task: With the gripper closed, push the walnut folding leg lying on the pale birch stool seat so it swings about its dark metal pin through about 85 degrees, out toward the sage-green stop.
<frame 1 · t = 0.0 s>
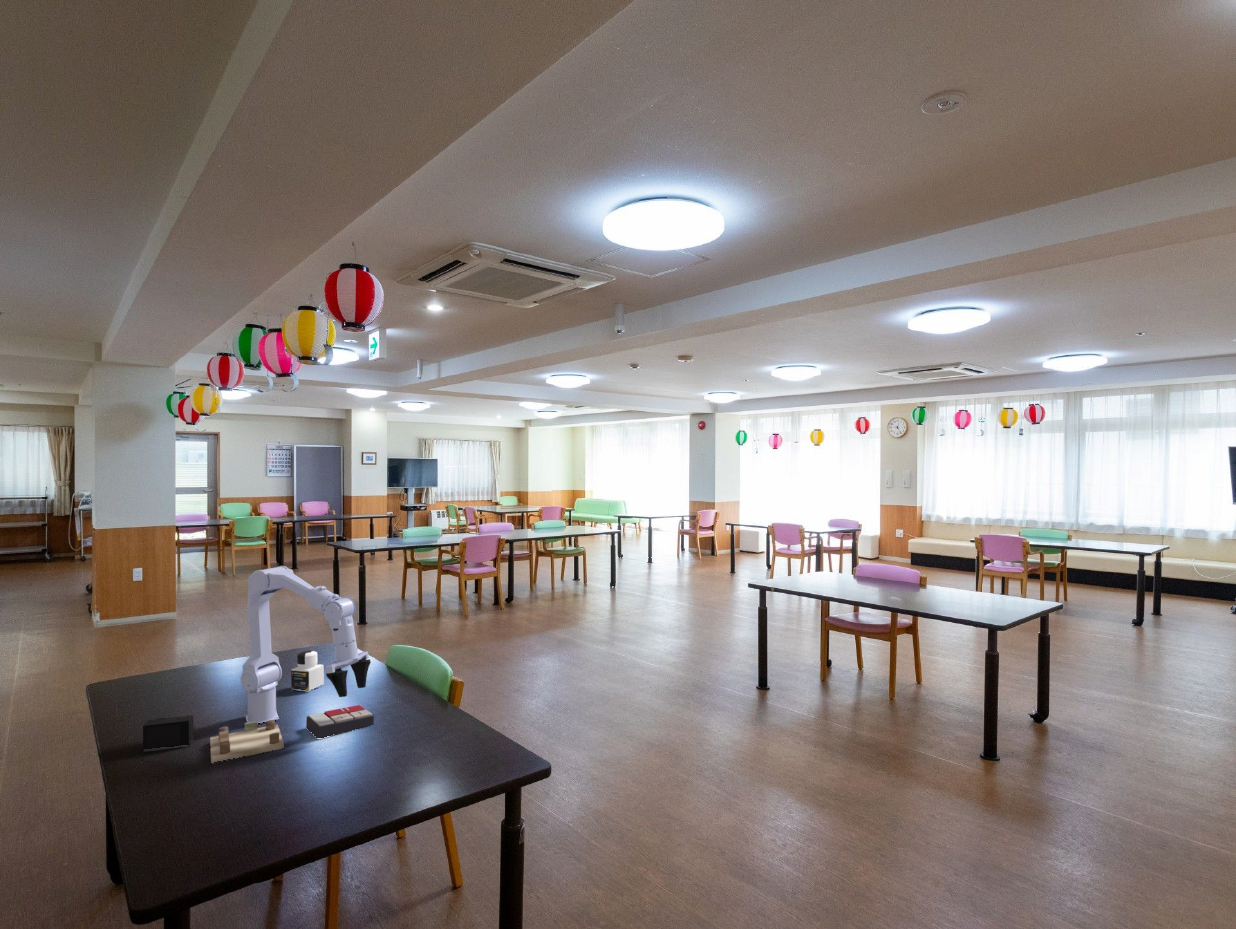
hand: (352, 692, 184), 11 cm above the table, tool pointing down, fingers open, 7 cm apart
stool seat: (246, 745, 175), on the table
digital camera: (169, 746, 176), on the table
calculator: (340, 728, 187), on the table
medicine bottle: (307, 689, 222), on the table
folding leg: (224, 737, 174), point 3 cm above the table, hinge at 0.0°
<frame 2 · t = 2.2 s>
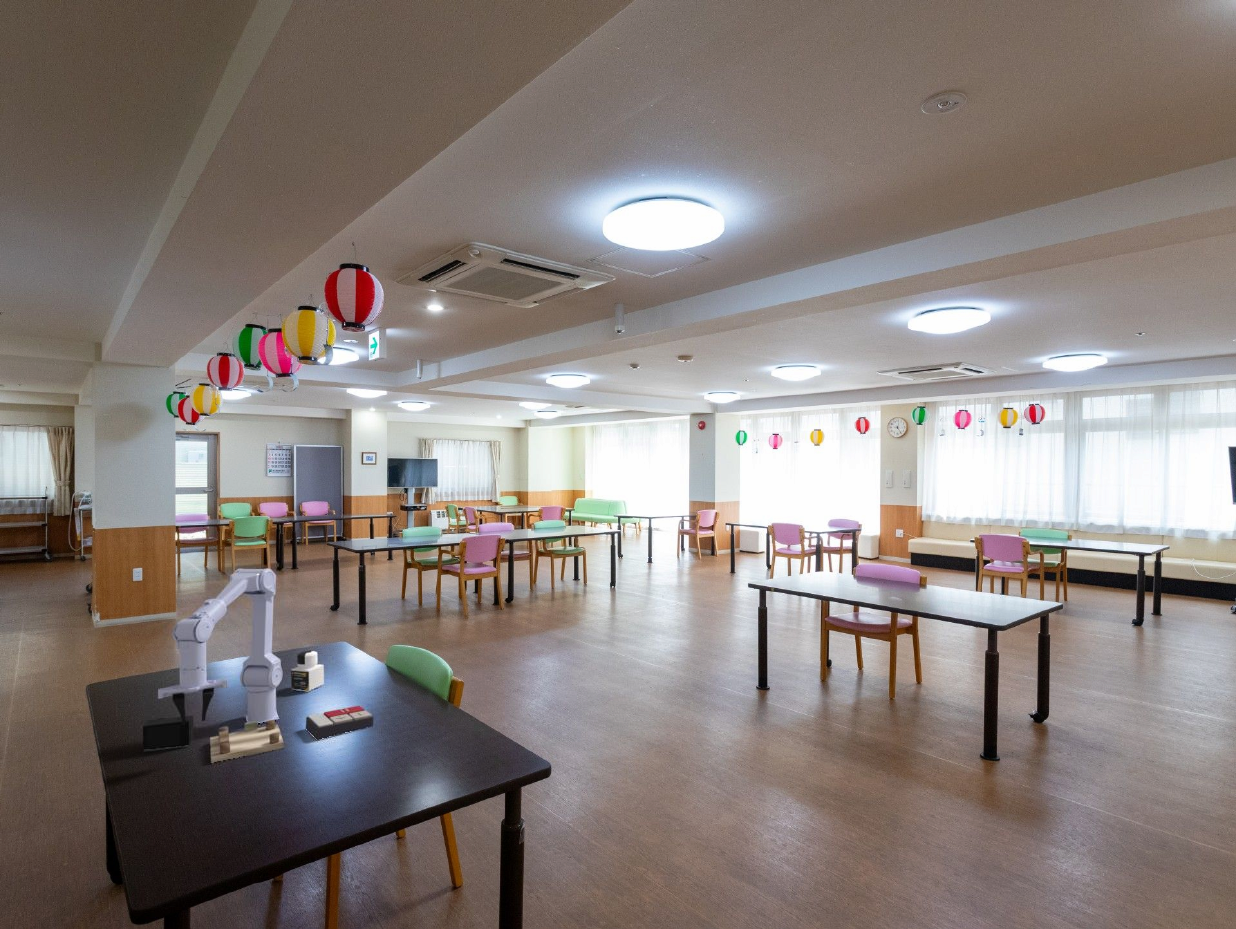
hand: (193, 721, 168), 9 cm above the table, tool pointing down, fingers open, 3 cm apart
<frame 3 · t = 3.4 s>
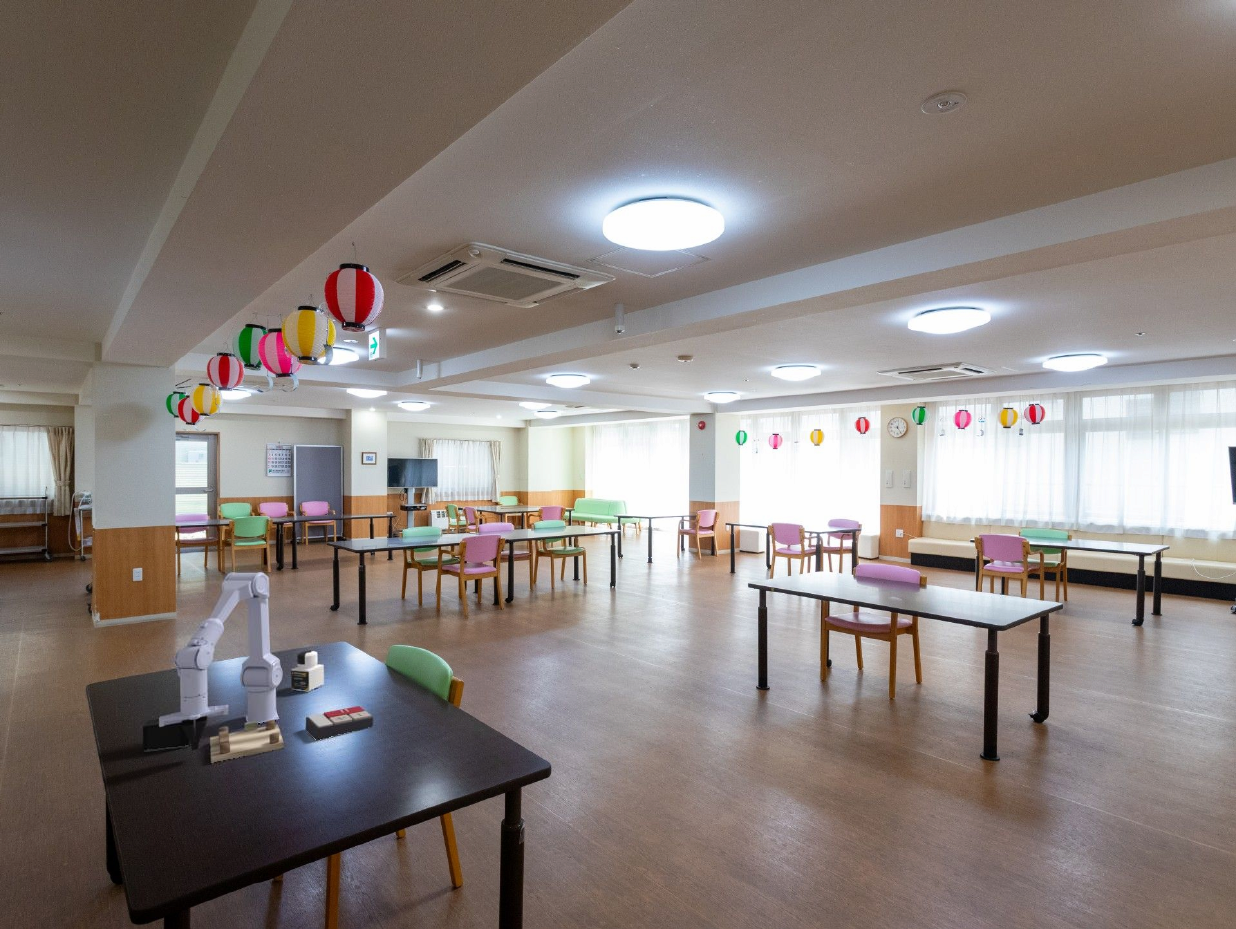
hand: (194, 748, 168), 3 cm above the table, tool pointing down, fingers closed
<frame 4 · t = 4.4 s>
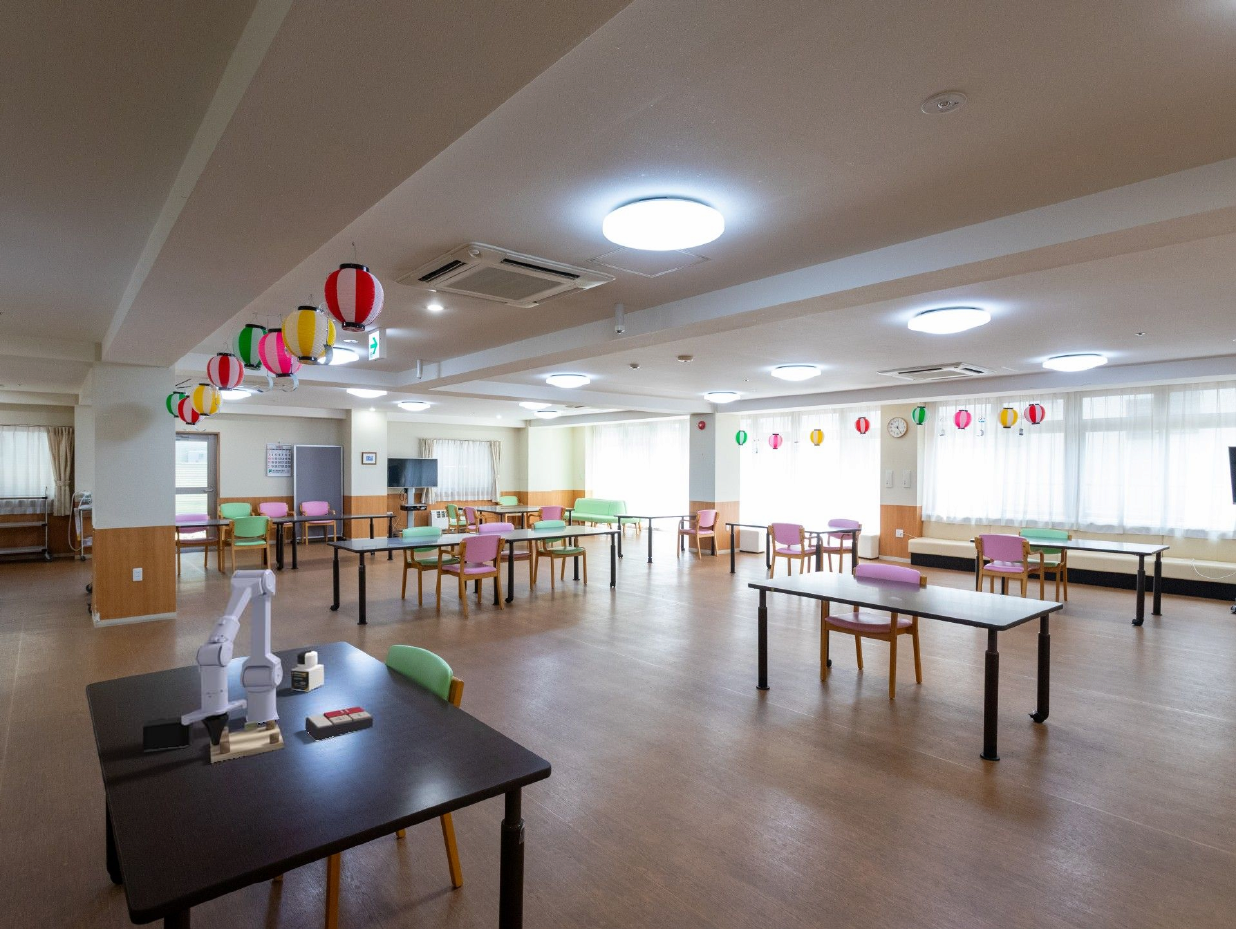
hand: (215, 744, 170), 3 cm above the table, tool pointing down, fingers closed, pressing on folding leg
folding leg: (224, 737, 174), point 3 cm above the table, hinge at 0.2°, touching gripper
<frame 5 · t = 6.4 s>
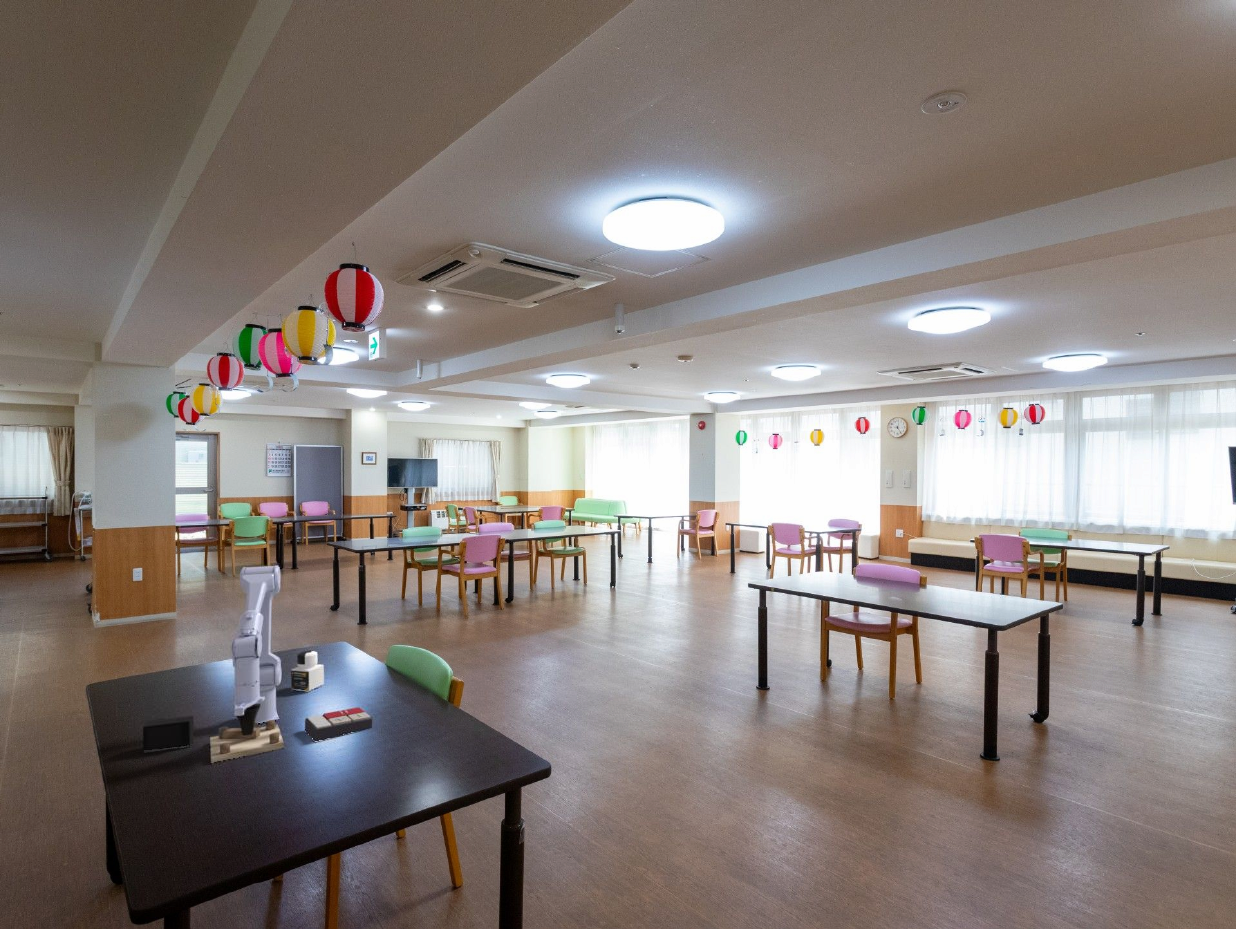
hand: (247, 734, 176), 3 cm above the table, tool pointing down, fingers closed, pressing on folding leg
folding leg: (238, 732, 177), point 3 cm above the table, hinge at 59.0°, touching gripper
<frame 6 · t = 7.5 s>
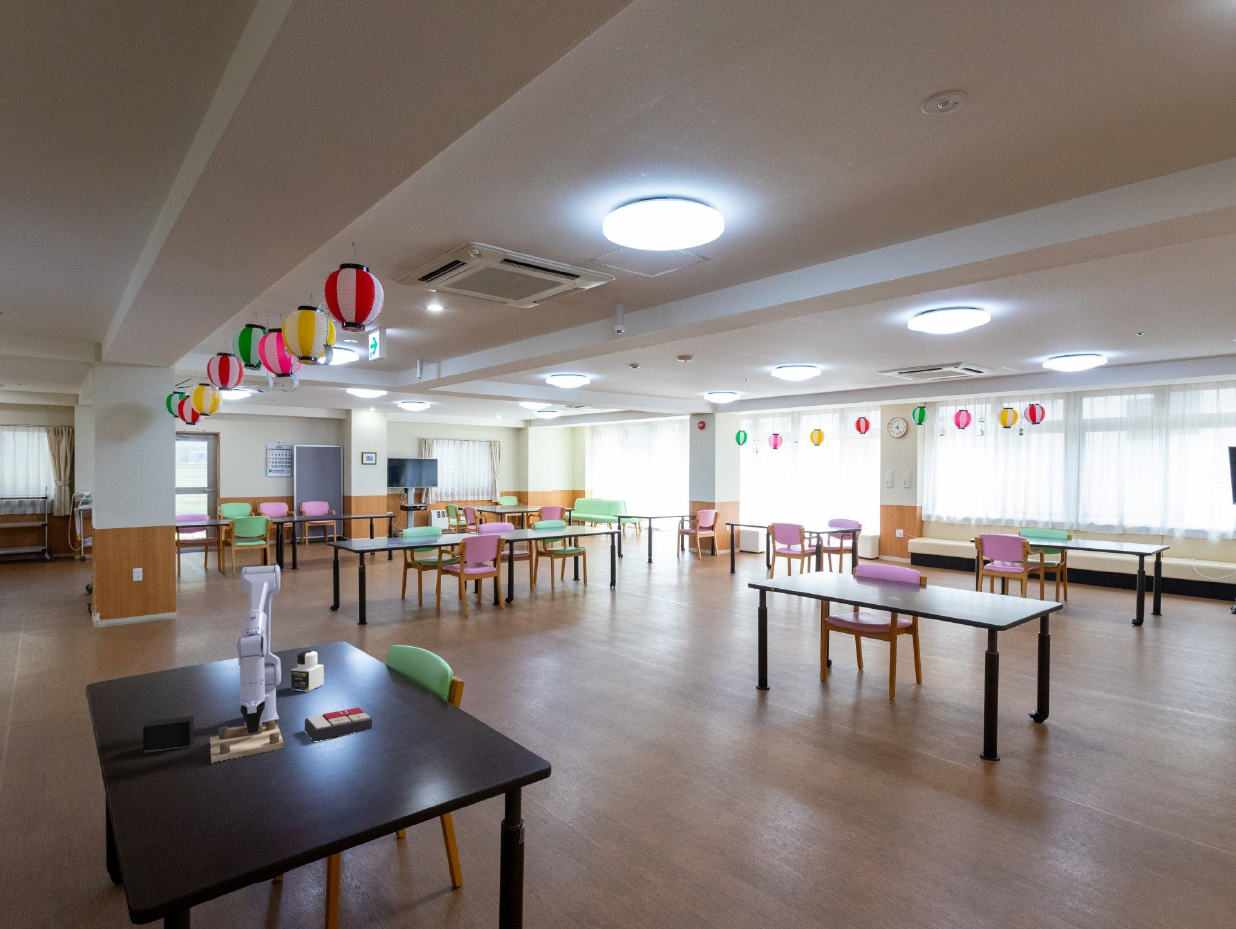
hand: (253, 732, 177), 3 cm above the table, tool pointing down, fingers closed
folding leg: (240, 730, 178), point 3 cm above the table, hinge at 80.5°
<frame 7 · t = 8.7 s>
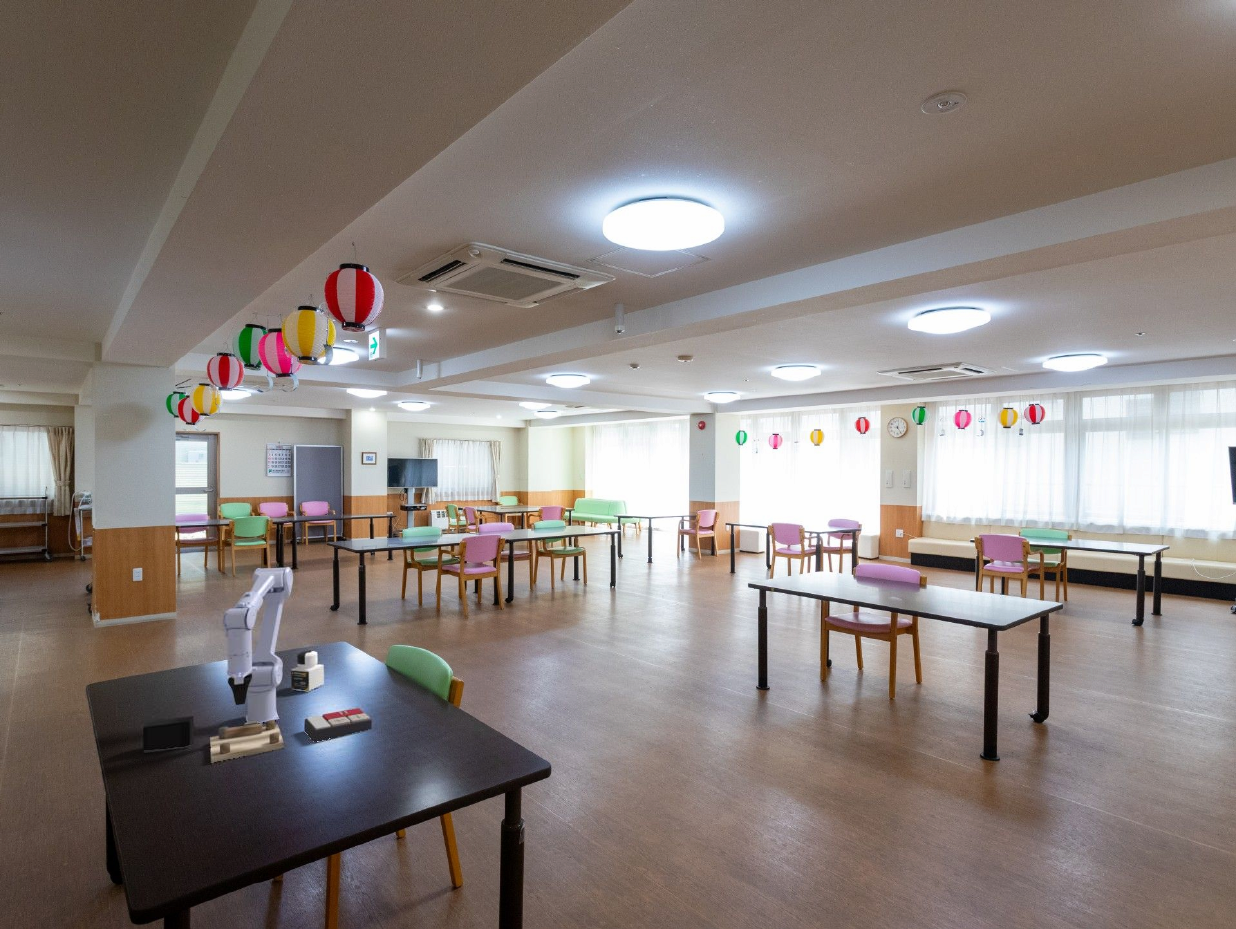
hand: (240, 703, 180), 9 cm above the table, tool pointing down, fingers closed
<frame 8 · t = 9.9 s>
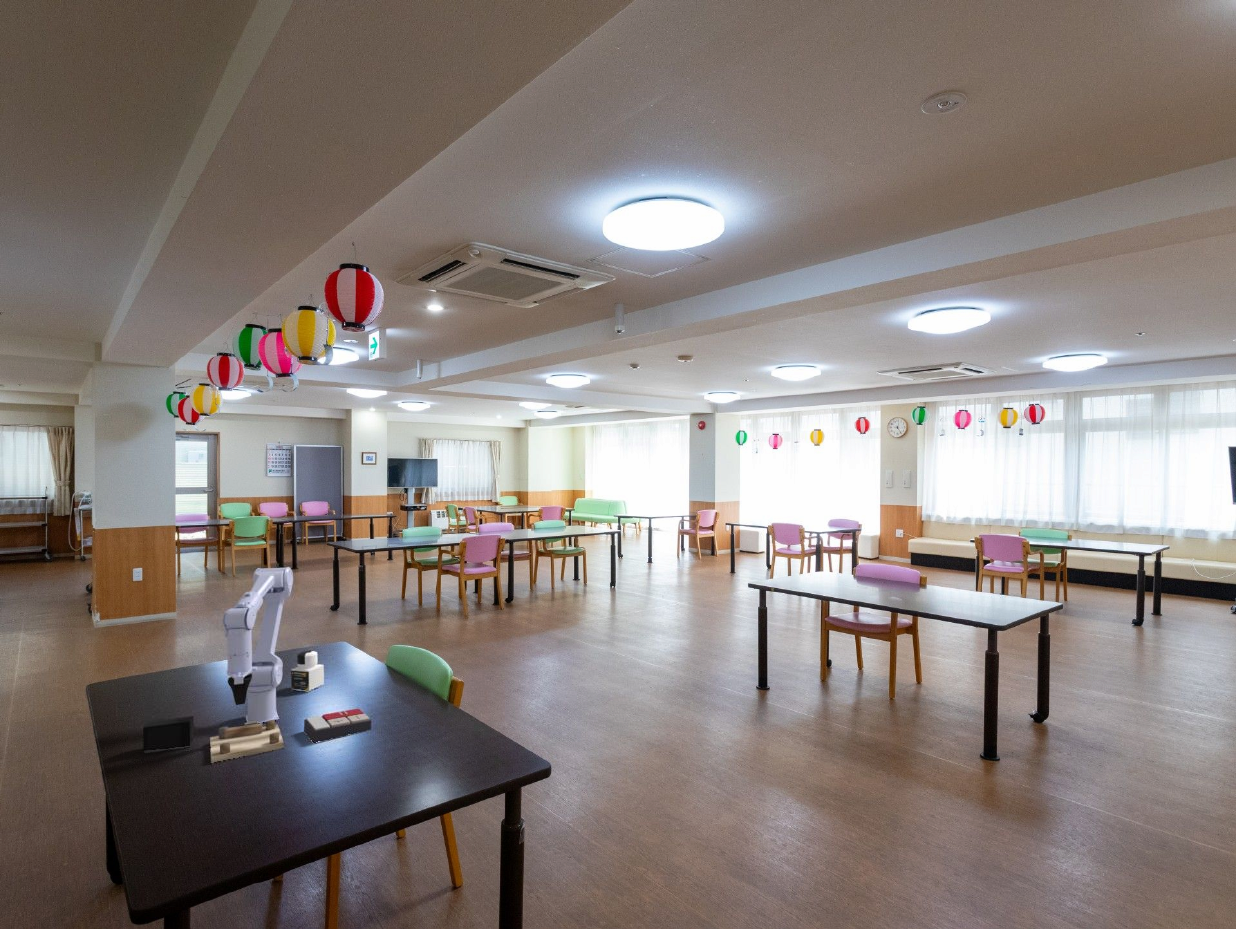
hand: (240, 703, 180), 9 cm above the table, tool pointing down, fingers closed
at the end: folding leg at +80° (first picture: +0°) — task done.
